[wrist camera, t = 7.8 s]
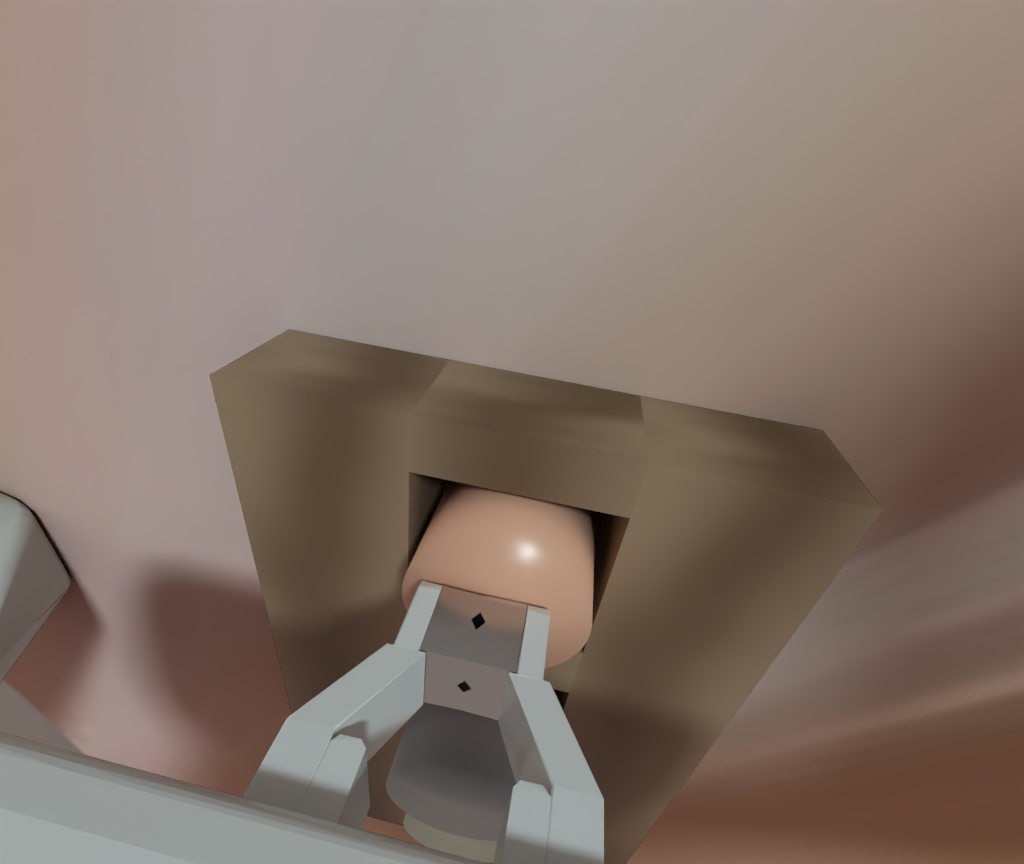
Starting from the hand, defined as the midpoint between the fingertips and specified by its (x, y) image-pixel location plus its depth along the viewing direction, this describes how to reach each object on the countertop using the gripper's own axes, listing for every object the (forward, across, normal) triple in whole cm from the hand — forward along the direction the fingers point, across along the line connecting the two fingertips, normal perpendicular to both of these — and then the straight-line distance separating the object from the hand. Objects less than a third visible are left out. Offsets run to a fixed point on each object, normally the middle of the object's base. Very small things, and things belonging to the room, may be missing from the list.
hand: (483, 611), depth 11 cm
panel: (+4, 0, +7) cm, 8 cm away
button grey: (+2, 0, +7) cm, 7 cm away
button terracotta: (+3, 0, 0) cm, 3 cm away
